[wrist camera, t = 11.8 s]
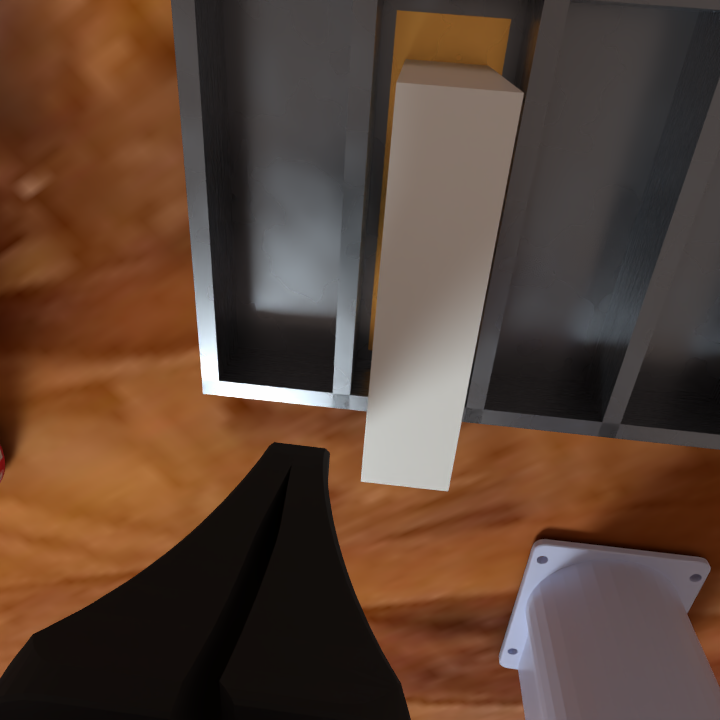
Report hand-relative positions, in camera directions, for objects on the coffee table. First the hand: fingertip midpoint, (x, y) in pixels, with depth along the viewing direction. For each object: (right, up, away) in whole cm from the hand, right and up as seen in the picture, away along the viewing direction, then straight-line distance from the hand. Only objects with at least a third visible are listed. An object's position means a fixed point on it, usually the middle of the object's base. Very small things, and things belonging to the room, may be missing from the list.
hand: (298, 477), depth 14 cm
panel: (+4, +7, +6) cm, 10 cm away
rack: (+6, +8, +6) cm, 12 cm away
